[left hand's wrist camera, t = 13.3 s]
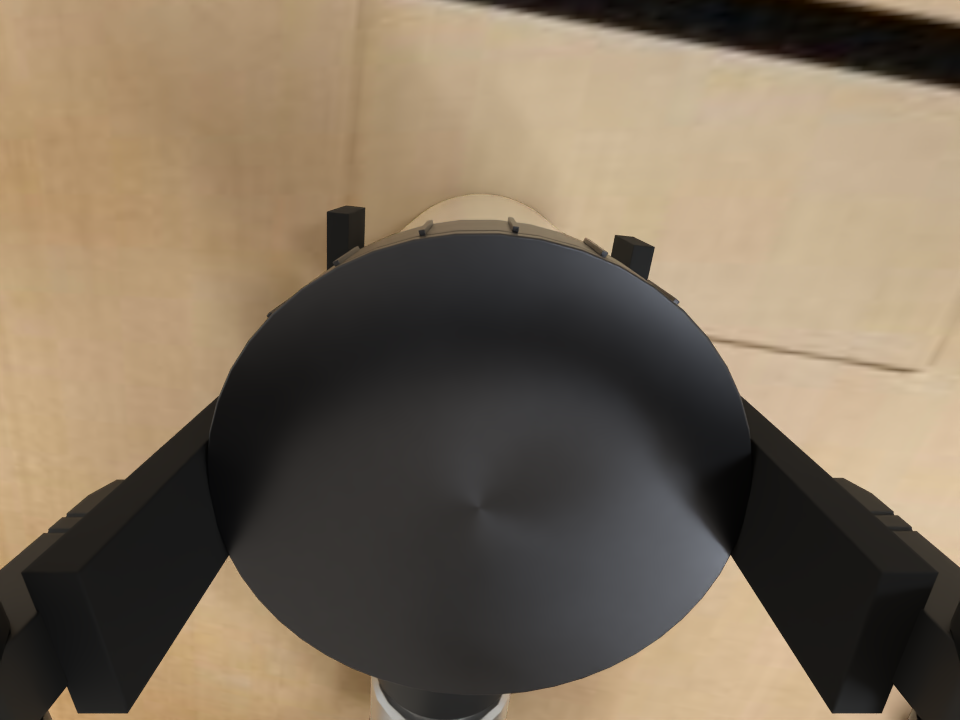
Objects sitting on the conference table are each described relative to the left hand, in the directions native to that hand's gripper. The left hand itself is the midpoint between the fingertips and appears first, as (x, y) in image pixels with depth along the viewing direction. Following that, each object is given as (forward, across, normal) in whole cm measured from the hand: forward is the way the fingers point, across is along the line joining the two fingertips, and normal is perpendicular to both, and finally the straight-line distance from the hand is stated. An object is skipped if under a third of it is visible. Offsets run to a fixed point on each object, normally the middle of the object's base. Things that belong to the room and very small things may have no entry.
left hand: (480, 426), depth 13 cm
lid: (-3, 0, 0) cm, 3 cm away
